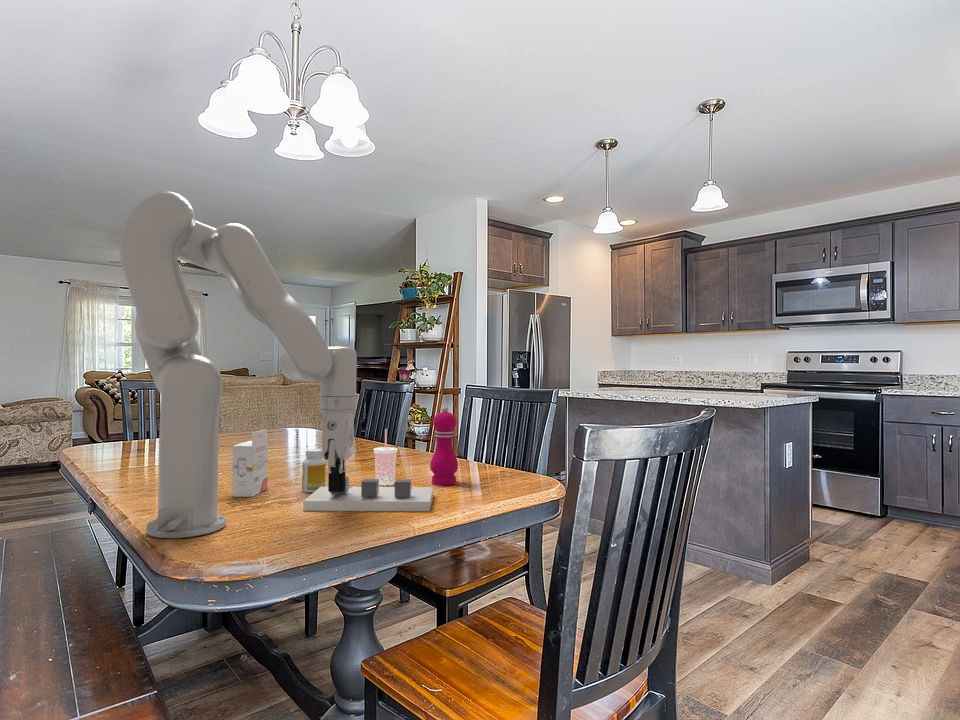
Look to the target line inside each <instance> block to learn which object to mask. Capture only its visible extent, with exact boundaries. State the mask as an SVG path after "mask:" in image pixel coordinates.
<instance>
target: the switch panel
mask: <svg viewBox="0 0 960 720" xmlns="http://www.w3.org/2000/svg"><path fill="white" fill-rule="evenodd" d="M433 498H434V487H433V486H411V495H410V497H395V486H379V494H378V496H377V497H361V486H349V491H348V492H347V493H346V494H331V492H329V491H328V486H325V487H324V486H321V487H320V488H319V489H317V490H316V491H315V492H311V494H310V495H308V496H307V497H306V498H305V499H304V500H303V502H302V503H303V505H302V506H303V508H302V509H303V510H302V511H305V512H349V511H350V512H430V511H431V508H430V507H432V502H433Z"/></svg>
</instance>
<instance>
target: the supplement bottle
mask: <svg viewBox="0 0 960 720" xmlns="http://www.w3.org/2000/svg"><path fill="white" fill-rule="evenodd" d="M305 457H306V458H304V459H303V460H302V464H301V465H302V466H301V468H302V469H301V491H303V492H304V493H314V492H315V491H316V490H317V489H319V488H320V487H321V486H324V487H326V468H327V467H326V466H327V465H326V460H325V459H323V457H322V448H310V449H306V450H305ZM303 492H302V493H303Z"/></svg>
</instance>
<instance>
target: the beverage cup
mask: <svg viewBox="0 0 960 720" xmlns="http://www.w3.org/2000/svg"><path fill="white" fill-rule="evenodd" d="M387 432H388V429H387V428H385V429H384V447H383V446H381V447H380V446H379V447H375V448H373V453H374V466H375V467H374V469H375V479H379V486H380V485H382V486H381V487H387V486H386V485H389V486H393V485H395V481H396V477H395V476H396V464H397V453H398V450H399V448H398V447H392V446H387V445H388V444H387V442H388V433H387ZM383 485H384V486H383Z"/></svg>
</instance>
